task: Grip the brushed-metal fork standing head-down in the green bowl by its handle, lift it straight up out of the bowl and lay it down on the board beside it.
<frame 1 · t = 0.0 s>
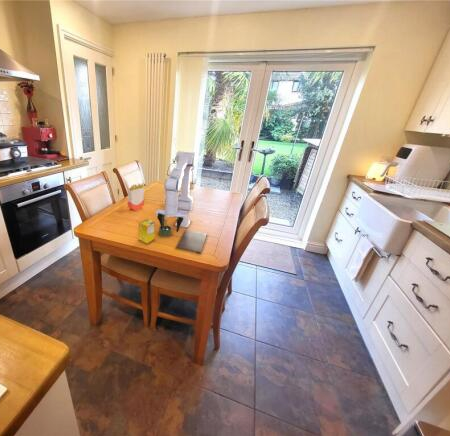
hand: (170, 229, 114), 10 cm above the table, tool pointing down, fingers open, 7 cm apart
supplement box: (146, 240, 124), on the table
board: (192, 241, 124), on the table
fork: (165, 233, 130), resting on green bowl
green bowl: (165, 234, 130), on the table
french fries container: (135, 209, 162), on the table
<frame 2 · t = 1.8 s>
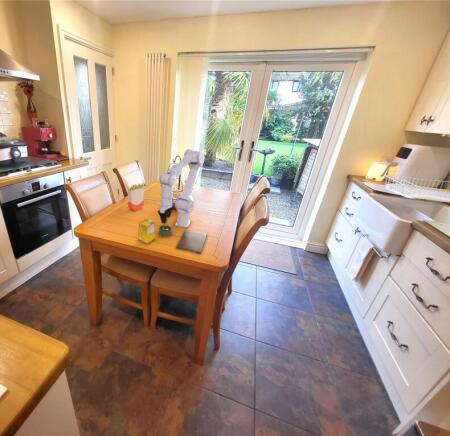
hand: (165, 220, 126), 9 cm above the table, tool pointing down, fingers open, 7 cm apart
nothing on the table moved.
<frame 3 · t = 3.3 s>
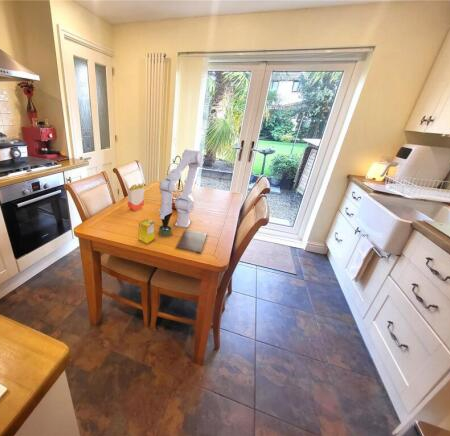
hand: (165, 225, 128), 5 cm above the table, tool pointing down, fingers closed on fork, 1 cm apart
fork: (165, 233, 130), point 1 cm above the table, touching gripper, green bowl
everything else where it was.
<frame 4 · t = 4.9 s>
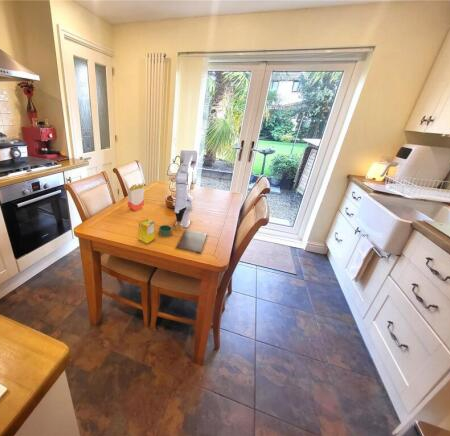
hand: (179, 220, 123), 10 cm above the table, tool pointing down, fingers closed on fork
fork: (178, 228, 125), point 6 cm above the table, touching gripper
everything else where it was.
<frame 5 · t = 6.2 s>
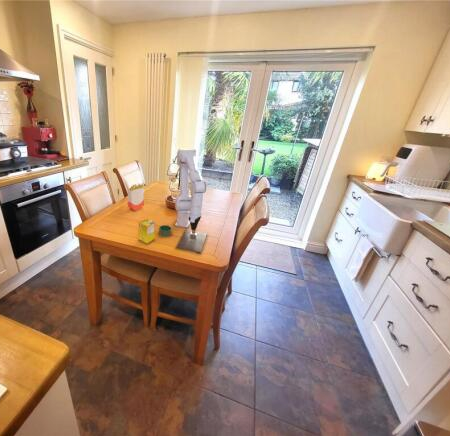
hand: (193, 229, 121), 7 cm above the table, tool pointing down, fingers closed on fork, 1 cm apart
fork: (193, 238, 123), point 2 cm above the table, touching gripper
everything else where it was.
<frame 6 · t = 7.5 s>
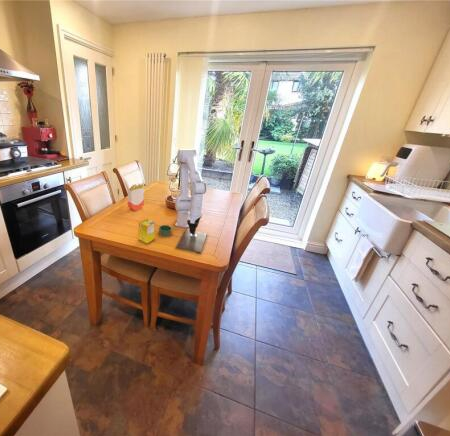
hand: (193, 230, 121), 7 cm above the table, tool pointing down, fingers open, 7 cm apart
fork: (192, 240, 124), point 1 cm above the table, touching board
everything else where it was.
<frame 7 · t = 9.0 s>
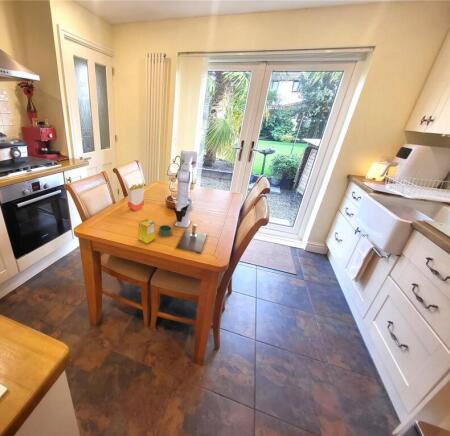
hand: (181, 218, 125), 10 cm above the table, tool pointing down, fingers open, 7 cm apart
nothing on the table moved.
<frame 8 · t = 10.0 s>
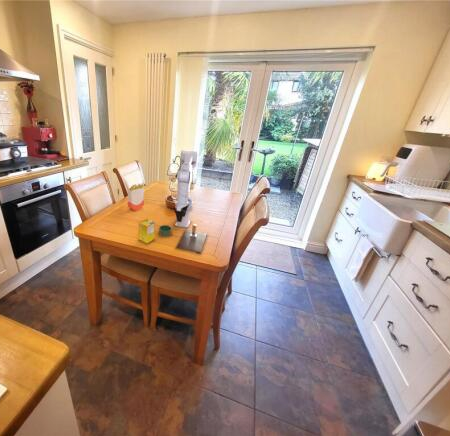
hand: (181, 218, 125), 10 cm above the table, tool pointing down, fingers open, 7 cm apart
nothing on the table moved.
at the end: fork inside the target area on the board (0.1 cm from its centre), point 1.0 cm above the board's base; the gripper is holding nothing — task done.
